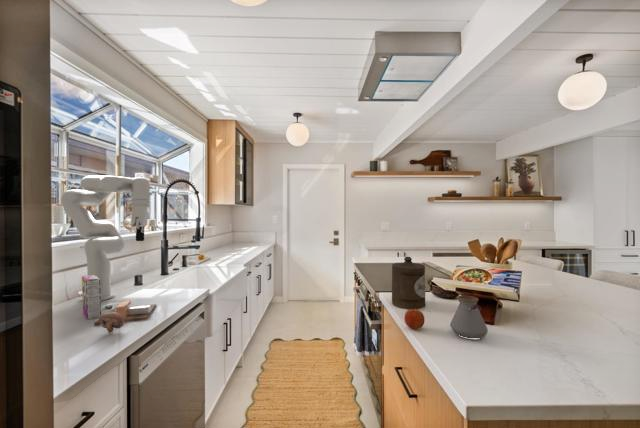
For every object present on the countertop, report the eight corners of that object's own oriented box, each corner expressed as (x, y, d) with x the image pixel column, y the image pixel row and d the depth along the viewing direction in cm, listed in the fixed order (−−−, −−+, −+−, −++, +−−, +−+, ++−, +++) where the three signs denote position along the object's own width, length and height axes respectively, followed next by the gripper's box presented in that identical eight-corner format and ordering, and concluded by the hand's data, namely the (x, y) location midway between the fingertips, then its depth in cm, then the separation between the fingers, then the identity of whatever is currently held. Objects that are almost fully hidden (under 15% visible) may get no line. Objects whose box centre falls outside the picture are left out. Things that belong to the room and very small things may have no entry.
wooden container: (425, 310, 125) (425, 259, 125) (390, 307, 129) (389, 258, 129) (425, 301, 139) (424, 255, 139) (393, 298, 143) (392, 254, 143)
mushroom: (95, 335, 103) (94, 312, 103) (112, 328, 109) (111, 307, 109) (110, 338, 101) (109, 315, 101) (126, 331, 107) (126, 309, 107)
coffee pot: (448, 327, 107) (448, 286, 107) (483, 330, 103) (483, 288, 103) (455, 354, 86) (454, 303, 86) (499, 359, 83) (499, 307, 83)
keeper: (116, 319, 116) (115, 307, 116) (122, 312, 124) (122, 301, 124) (124, 318, 117) (124, 306, 117) (131, 311, 125) (130, 300, 125)
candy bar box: (81, 314, 126) (81, 276, 126) (96, 311, 130) (95, 274, 130) (86, 320, 119) (85, 280, 119) (101, 316, 123) (100, 278, 123)
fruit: (424, 333, 101) (424, 310, 101) (403, 331, 104) (403, 308, 104) (424, 326, 108) (424, 304, 108) (405, 324, 110) (405, 303, 110)
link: (98, 318, 116) (98, 308, 116) (104, 314, 121) (104, 304, 121) (147, 314, 121) (147, 304, 121) (151, 310, 125) (151, 301, 125)
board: (94, 325, 113) (94, 322, 113) (110, 311, 130) (110, 308, 130) (146, 319, 118) (146, 316, 118) (156, 306, 135) (156, 304, 135)
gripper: (136, 203, 148) (135, 239, 148) (126, 202, 133) (126, 242, 134) (152, 203, 150) (152, 239, 150) (145, 203, 136) (144, 242, 136)
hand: (140, 240), depth 142 cm, fingers closed
